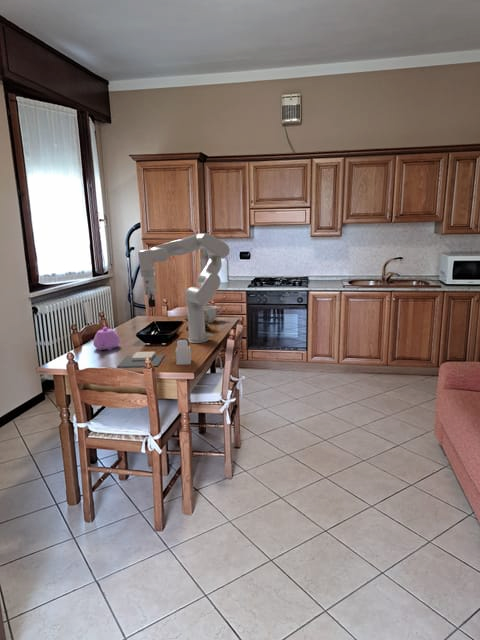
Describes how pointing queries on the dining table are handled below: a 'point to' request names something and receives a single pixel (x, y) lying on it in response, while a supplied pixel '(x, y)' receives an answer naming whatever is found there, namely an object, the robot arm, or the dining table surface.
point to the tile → (142, 355)
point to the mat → (129, 363)
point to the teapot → (106, 339)
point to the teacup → (211, 312)
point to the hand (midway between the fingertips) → (152, 306)
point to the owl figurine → (204, 320)
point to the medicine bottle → (183, 352)
